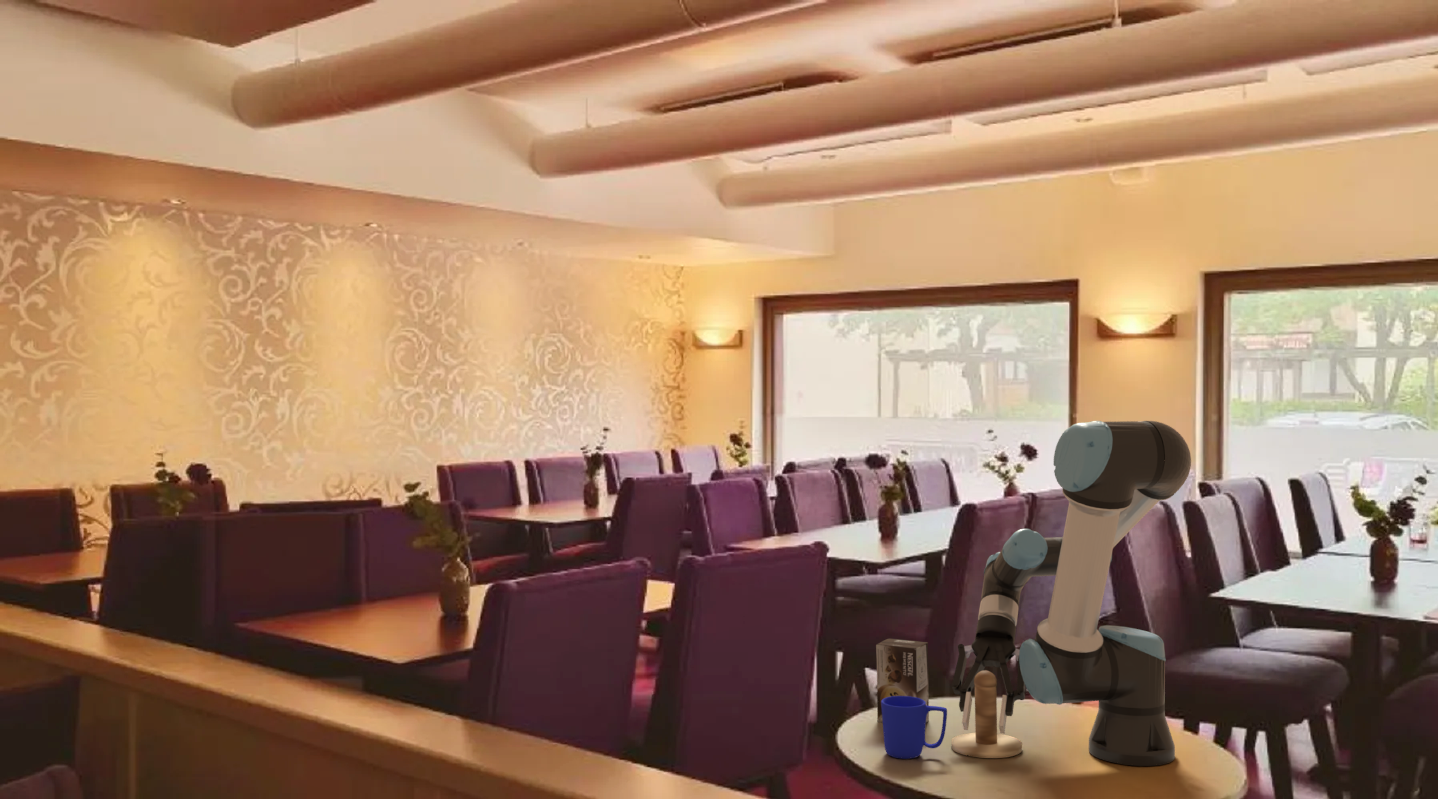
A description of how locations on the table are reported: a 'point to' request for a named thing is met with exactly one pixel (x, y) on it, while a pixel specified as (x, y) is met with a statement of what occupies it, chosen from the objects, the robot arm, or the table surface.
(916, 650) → the coffee box
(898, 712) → the mug
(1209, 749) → the table surface
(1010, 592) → the robot arm
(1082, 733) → the table surface
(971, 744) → the wooden peg on disc
